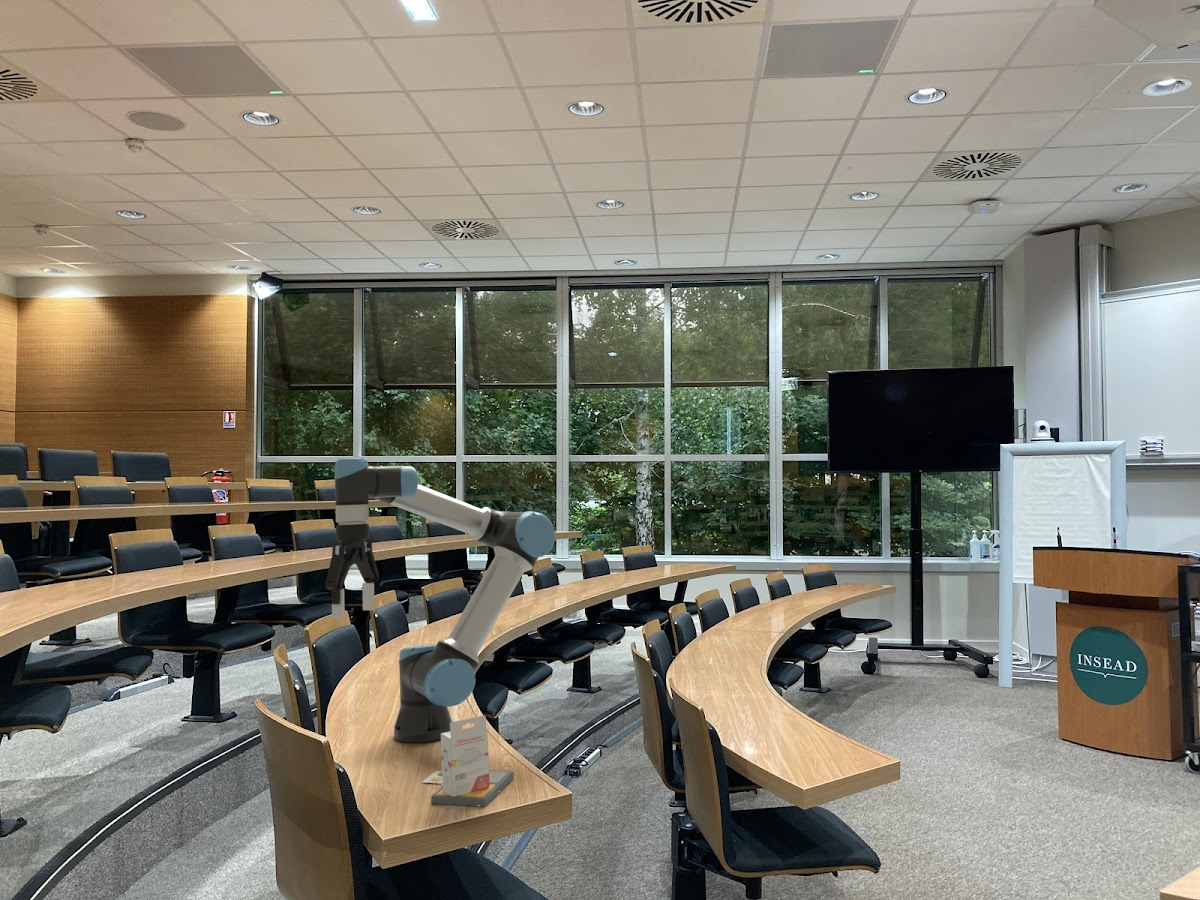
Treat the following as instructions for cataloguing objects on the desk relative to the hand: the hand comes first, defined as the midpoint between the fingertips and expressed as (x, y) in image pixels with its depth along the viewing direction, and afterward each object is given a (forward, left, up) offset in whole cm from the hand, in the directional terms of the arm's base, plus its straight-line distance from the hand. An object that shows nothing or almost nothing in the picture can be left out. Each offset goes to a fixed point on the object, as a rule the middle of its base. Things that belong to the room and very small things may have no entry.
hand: (354, 614), depth 195 cm
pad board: (+12, +34, -35) cm, 50 cm away
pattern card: (+6, +24, -35) cm, 42 cm away
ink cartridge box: (+16, +34, -33) cm, 50 cm away
